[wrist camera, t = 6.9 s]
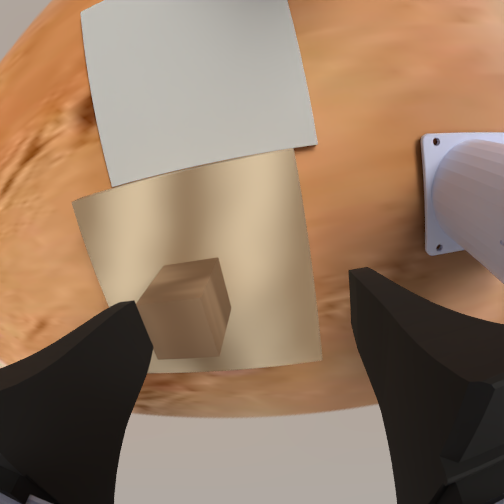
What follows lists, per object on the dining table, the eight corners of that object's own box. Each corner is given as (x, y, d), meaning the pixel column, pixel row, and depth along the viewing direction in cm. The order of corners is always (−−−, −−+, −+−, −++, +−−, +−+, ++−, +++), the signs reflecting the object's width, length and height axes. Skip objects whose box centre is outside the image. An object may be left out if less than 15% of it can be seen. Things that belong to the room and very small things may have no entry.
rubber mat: (273, -45, 13) (272, -49, 13) (316, 143, 18) (317, 144, 17) (84, 13, 15) (80, 12, 15) (115, 185, 20) (112, 187, 19)
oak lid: (293, 148, 15) (299, 160, 10) (321, 349, 19) (329, 410, 15) (80, 197, 17) (26, 225, 12) (145, 363, 21) (119, 415, 16)
